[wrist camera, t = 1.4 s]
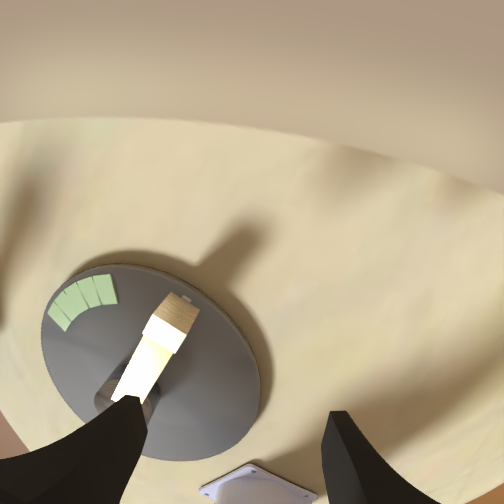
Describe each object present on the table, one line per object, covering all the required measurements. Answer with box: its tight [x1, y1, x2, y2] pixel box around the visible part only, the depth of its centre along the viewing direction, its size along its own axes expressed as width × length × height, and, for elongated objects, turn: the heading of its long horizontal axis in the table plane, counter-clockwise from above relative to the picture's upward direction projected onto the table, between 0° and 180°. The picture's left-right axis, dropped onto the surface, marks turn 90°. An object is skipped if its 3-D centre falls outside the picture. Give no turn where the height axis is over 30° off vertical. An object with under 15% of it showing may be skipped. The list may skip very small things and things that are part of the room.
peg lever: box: [94, 292, 200, 426], centre depth 18 cm, size 11×4×3 cm, turn 148°
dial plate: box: [41, 263, 261, 461], centre depth 21 cm, size 18×18×1 cm
